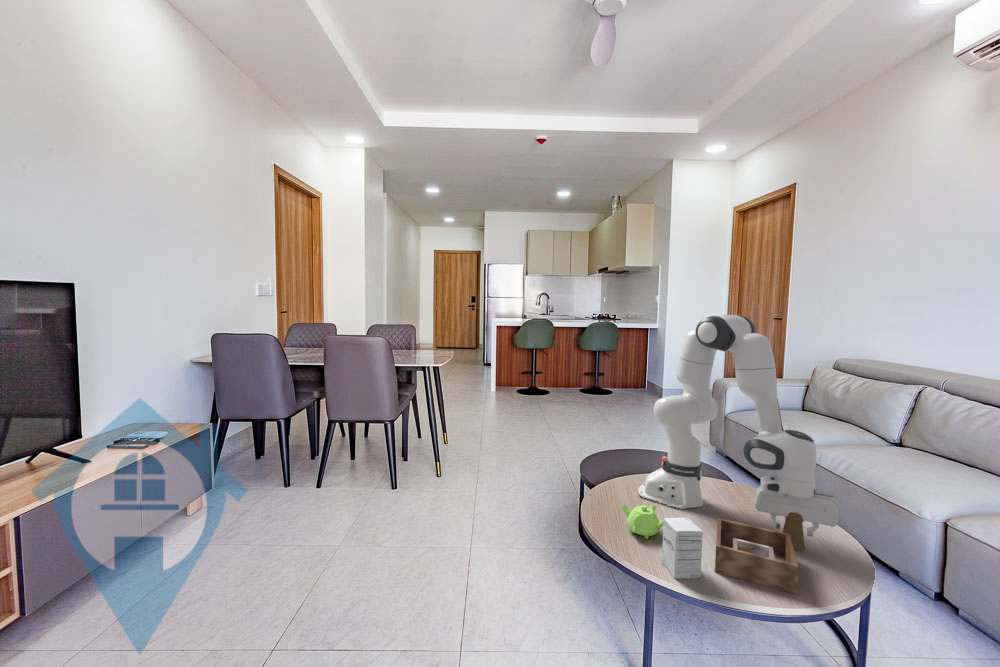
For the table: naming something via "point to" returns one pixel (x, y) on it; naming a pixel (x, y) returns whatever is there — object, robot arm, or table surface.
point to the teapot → (643, 520)
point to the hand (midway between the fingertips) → (793, 532)
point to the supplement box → (682, 547)
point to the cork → (795, 530)
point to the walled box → (756, 555)
